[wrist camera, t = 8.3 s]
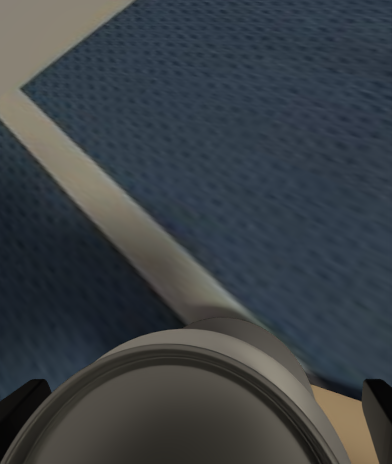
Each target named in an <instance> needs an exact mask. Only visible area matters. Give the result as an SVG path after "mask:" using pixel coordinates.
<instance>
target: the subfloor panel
mask: <svg viewBox="0 0 392 464" xmlns="http://www.w3.org/2000/svg"><path fill="white" fill-rule="evenodd" d="M182 329H199V330H207V331H213V332H217V333H221V334H225V335H228V336H231V337H234V338H237V339H239V340H242V341H244V342H246V343H248V344H250V345H252V346H254V347H256V348H258V349H259V350H261V351H263V352H264V353H266V354H267V355H269V356H270V357H272V358H273V359H274V360H276V361H277V362H278V363H280V364H281V365H282V366H283V367H285V368H286V369H287V370H288V371H289V372H290V373H291V374H292V375H293V376H294V377H295V378H296V379H297V380H298V381H299V382H300V383H301V384H302V385H303V386H304V387H305V388H306V389H307V391H308V392H309V393H310V394H311V395H312V397H313V398H314V399H315V401H316V402H317V403H318V405H319V406H320V407H321V409H322V410H323V412H324V413H325V415H326V416H327V418H328V419H329V421H330V422H331V424H332V426H333V427H334V429H335V431H336V433H337V434H338V436H339V438H340V440H341V442H342V444H343V446H344V448H345V450H346V452H347V454H348V457H349V459H350V461H351V464H379V461H378V458H377V455H376V452H375V448H374V445H373V442H372V439H371V436H370V432H369V429H368V426H367V423H366V420H365V416H364V413H363V409H362V402H361V401H358V400H355V399H352V398H349V397H346V396H343V395H341V394H338V393H335V392H332V391H329V390H326V389H323V388H320V387H317V386H314V385H311V384H310V383H309V380H308V378H307V376H306V374H305V372H304V370H303V368H302V367H301V365H300V363H299V362H298V361H297V359H296V358H295V356H294V355H293V354H292V353H291V351H290V350H289V349H288V348H287V347H286V346H285V345H284V344H283V343H282V342H281V341H280V340H279V339H277V338H276V337H275V336H274V335H272V334H271V333H269V332H268V331H266V330H265V329H263V328H261V327H259V326H257V325H255V324H252V323H250V322H247V321H244V320H239V319H235V318H225V317H222V318H210V319H204V320H200V321H197V322H194V323H192V324H190V325H188V326H185V327H183V328H182Z"/></svg>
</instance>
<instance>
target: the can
mask: <svg viewBox="0 0 392 464" xmlns="http://www.w3.org/2000/svg"><path fill="white" fill-rule="evenodd" d="M0 464H351V461H350V459H349V457H348V454H347V452H346V450H345V448H344V446H343V444H342V442H341V440H340V438H339V436H338V434H337V433H336V431H335V429H334V427H333V426H332V424H331V422H330V421H329V419H328V418H327V416H326V415H325V413H324V412H323V410H322V409H321V407H320V406H319V405H318V403H317V402H316V401H315V399H314V398H313V397H312V395H311V394H310V393H309V392H308V391H307V389H306V388H305V387H304V386H303V385H302V384H301V383H300V382H299V381H298V380H297V379H296V378H295V377H294V376H293V375H292V374H291V373H290V372H289V371H288V370H287V369H286V368H285V367H283V366H282V365H281V364H280V363H278V362H277V361H276V360H274V359H273V358H272V357H270V356H269V355H267V354H266V353H264V352H263V351H261V350H259V349H258V348H256V347H254V346H252V345H250V344H248V343H246V342H244V341H242V340H239V339H237V338H234V337H231V336H228V335H225V334H221V333H217V332H213V331H207V330H199V329H173V330H165V331H159V332H154V333H150V334H146V335H143V336H140V337H137V338H135V339H132V340H130V341H127V342H125V343H123V344H121V345H119V346H118V347H116V348H114V349H112V350H111V351H109V352H108V353H106V354H105V355H103V356H102V357H100V358H99V359H98V360H96V361H95V362H94V363H92V364H90V365H88V366H86V367H85V368H83V369H82V370H80V371H79V372H77V373H76V374H74V375H73V376H71V377H70V378H69V379H67V380H66V381H65V382H64V383H62V384H61V385H60V386H59V387H58V388H57V389H56V390H54V391H53V392H52V393H51V394H50V395H49V396H48V397H47V398H46V399H45V400H44V401H43V402H42V403H41V405H40V406H39V407H38V408H37V409H36V410H35V411H34V413H33V414H32V415H31V416H30V418H29V419H28V420H27V421H26V423H25V424H24V425H23V427H22V428H21V430H20V431H19V433H18V434H17V436H16V437H15V439H14V440H13V442H12V443H11V445H10V447H9V448H8V450H7V452H6V454H5V455H4V457H3V459H2V461H1V463H0Z"/></svg>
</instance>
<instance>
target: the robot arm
mask: <svg viewBox="0 0 392 464" xmlns="http://www.w3.org/2000/svg"><path fill="white" fill-rule="evenodd" d="M50 394H51V390H50V387H49V385H48V382H47V381H46V380H45V379H32V380H30V381H28V382H27V383H26V384H24V385H23V386H21V387H20V388H18V389H17V390H16V391H14V392H13V393H11V394H10V395H9V396H7V397H6V398H4V399H3V400H2V401H0V463H1V461H2V459H3V457H4V455H5V454H6V452H7V450H8V448H9V447H10V445H11V443H12V442H13V440H14V439H15V437H16V436H17V434H18V433H19V431H20V430H21V428H22V427H23V425H24V424H25V423H26V421H27V420H28V419H29V418H30V416H31V415H32V414H33V413H34V411H35V410H36V409H37V408H38V407H39V406H40V405H41V403H42V402H43V401H44V400H45V399H46V398H47V397H48V396H49V395H50ZM362 409H363V413H364V416H365V420H366V423H367V426H368V429H369V432H370V436H371V439H372V442H373V445H374V448H375V452H376V455H377V458H378V461H379V464H392V387H391V386H389V385H388V384H387V383H386V382H385V381H383V380H381V379H365V380H364V382H363V392H362Z"/></svg>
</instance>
